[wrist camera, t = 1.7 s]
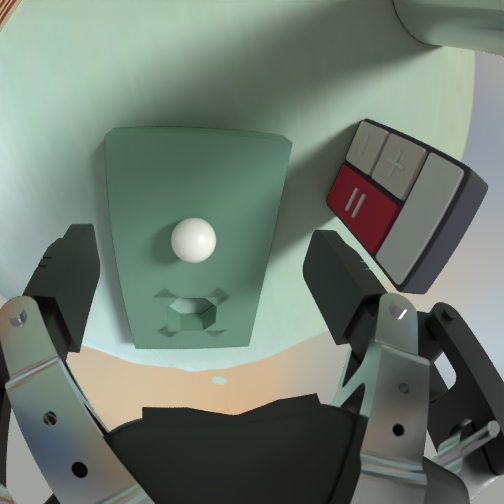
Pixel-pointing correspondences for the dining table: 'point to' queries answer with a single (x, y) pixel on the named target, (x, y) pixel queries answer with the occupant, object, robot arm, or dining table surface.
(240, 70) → the dining table surface
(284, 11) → the dining table surface
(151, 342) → the putting board
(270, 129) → the dining table surface
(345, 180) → the calculator
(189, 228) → the ball
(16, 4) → the milk carton
